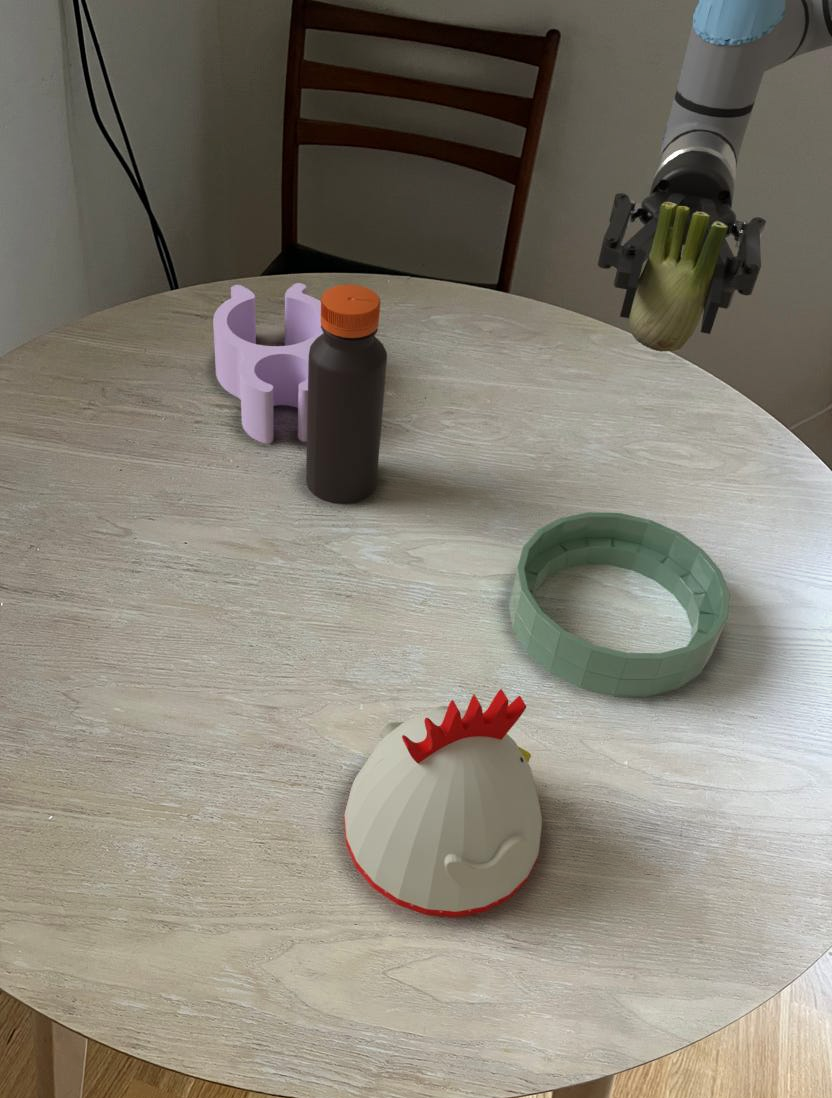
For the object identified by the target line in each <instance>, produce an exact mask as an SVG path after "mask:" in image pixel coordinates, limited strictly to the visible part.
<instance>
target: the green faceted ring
mask: <svg viewBox="0 0 832 1098" xmlns="http://www.w3.org/2000/svg"><path fill="white" fill-rule="evenodd" d="M583 565H605V566H607V565H608V566H613V567H617V568H622V569H626V570H630V571H633V572H635V573H637V574H639V575H642V576H644V577H647V578H649V579H651V580H653V581H655V582H656V583H657V584H659V585H660V586H662V587H663V588H664V589H665V590H666V591H668V592H669V593H671V594H672V595H673V596H674V598H675V599H676V601H678V603H679V604H680V605H681V607H682V608H683V610H684V611H685V612H686V615H687V618H688V621H689V624H690V626H691V634H690V635H691V637H690V641H689V642H688V643H687V645H686V646H683V647H679V648H674V649H671V650H667V651H663V652H625V651H622V650H617V649H613V648H609V647H605V646H601V645H596V644H594V643H592V642H590V641H588V640H585V639H584V638H581V637H579V636H577V635H575V634H573V633H571V632H569V631H567V630H565V629H564V628H563V627H561V625H559V624H558V623H557V622H556V621H555V620H554V619H552V618H551V616H549V615H547V614H546V613H545V612H544V611H543V610H542V609H541V606H540V605H539V604H538V602H537V599H536V595H535V592H536V591H537V590H538V589H539V587H540V586H541V585H542V584H543V583H544V582H545V580H546V579H548V578H549V577H552V576H553V575H555V574H557V573H558V572H561V571H562V570H565V569H570V568H573V567H577V566H578V567H579V566H583ZM730 597H731V593H730V591H729V587H728V584H727V583H726V581H725V577H724V575H723V572H722V570H721V568H720V567H718V565H717V564H716V563H715V562H714V560H713V559H712V558H711V557H710V555H708V553H707V551H705V550H704V548H702V547H701V546H699V545H698V544H696V543H695V542H693V540H690V539H689V538H688V537H687V536H685V535H683V533H681V532H679V531H677V530H676V529H675V530H674V529H673V528H670V527H668V526H666V525H663V524H661V523H659V522H656V521H654V520H652V519H649V518H644V517H639V516H635V515H631V514H626V513H622V512H597V511H596V512H595V511H593V512H592V511H588V512H583V513H577V514H572V515H567V516H564V517H560V518H558V519H556V520H554V521H552V522H550V523H548V524H546V525H545V526H542V527H541V528H539V529H537V531H536V532H534V534H533V535H532V536H531V537H530V539H529V540H528V541H526V543H525V544H524V545H523V546H522V549H521V552H520V557H519V559H518V563H517V567H516V572H515V576H514V580H513V585H512V589H511V594H510V598H509V603H508V610H509V615H510V622H511V628H512V630H513V632H514V634H515V636H516V637H517V639H518V640H519V642H520V644H521V646H522V647H523V648H524V650H525V652H526V653H527V654H528V655H530V657H531V658H532V659H534V661H536V662H537V663H539V664H540V665H541V666H542V667H543V668H544V669H545V670H547V671H548V672H549V673H550V674H552V675H554V676H556V677H558V678H560V679H561V680H564V681H565V682H567V683H569V684H572V685H573V686H576V687H578V688H579V689H580V688H581V689H583V690H587V691H591V692H595V693H599V694H603V695H607V696H611V697H618V698H619V697H625V698H626V697H627V698H629V697H631V698H633V697H634V698H635V697H636V698H639V697H640V698H648V697H649V698H650V697H653V696H656V695H661V694H664V693H667V692H671V691H672V692H673V691H676V690H678V689H680V688H681V687H683V686H685V685H686V684H687V683H689V682H690V681H692V680H694V679H695V678H696V677H698V676H699V675H700V674H701V673H702V671H703V669H704V668H705V666H706V665H707V663H708V661H709V660H710V658H711V657H712V655H713V653H714V650H715V648H716V646H717V644H718V641H719V640H720V639H719V638H720V637H721V634H722V631H723V629H724V627H725V626H726V623H727V620H728V619H729V611H730V599H731V598H730Z"/></svg>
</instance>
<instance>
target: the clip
mask: <svg viewBox="0 0 832 1098" xmlns="http://www.w3.org/2000/svg"><path fill="white" fill-rule="evenodd" d="M212 325H213V341H214V343H213V344H214V345H213V346H214V361H215V362H214V363H215V364H214V365H215V375H216V379H217V381H218V383H219V384H220V385H221V387H222V388H223V389H224V390H225V391H226V392H228V393H229V394H231V395H232V396H234V397H236V398H238V399H239V400H240V414H241V427H242V428H243V430H244V432H245V433H246V434H247V436H249V437H251V438H252V439H254V440H255V441H258V442H259V443H262V444H265V445H266V444H267V445H268V444H269V445H270V444H272V443H273V441H274V439H275V438H274V436H275V435H274V406H290V407H295V408H297V438H298V440H299V441H300V442H302V443H307V410H308V360H309V350H310V346H311V345H312V343H313V342H314V341H315V340H316V339H317V338H318V337H319V336H320V335H322V334H323V331H322V329H321V300H319V299H317V298H315V297H313V296H311V295H308V294H307V285H306V284H304V283H301V282H296V283H294V284H292V285H291V286H290V287H288V289H287V290H286V291H285V293H284V345H279V346H277V345H273V346H272V345H263V344H257V329H256V327H257V323H256V295H255V294H254V293H253V291H252V290H250V289H249V288H246V287H245V286H243V285H241V284H235V285H232V286H231V287H230V298H229V299H227V300H225V301H224V302H223V303H221V304H220V305H219V306H218V307H217V309H216V310H215V312H214V314H213V318H212Z"/></svg>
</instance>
